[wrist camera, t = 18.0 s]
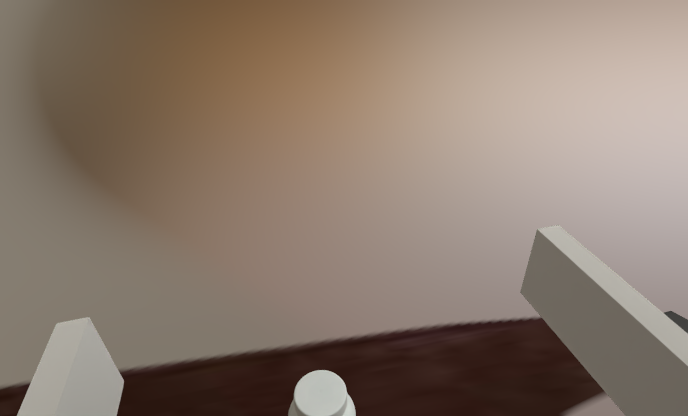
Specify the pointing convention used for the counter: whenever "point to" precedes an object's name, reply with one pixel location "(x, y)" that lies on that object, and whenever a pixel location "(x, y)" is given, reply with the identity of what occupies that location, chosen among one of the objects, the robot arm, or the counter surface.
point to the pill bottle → (321, 396)
